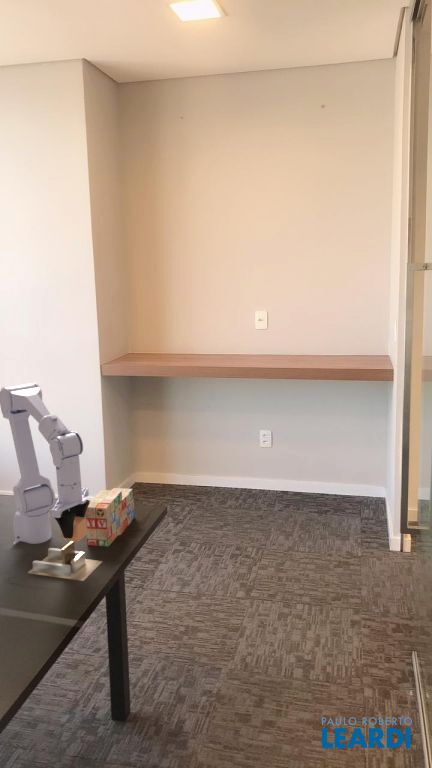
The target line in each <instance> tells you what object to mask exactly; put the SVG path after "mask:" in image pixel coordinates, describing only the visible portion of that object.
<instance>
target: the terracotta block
mask: <svg viewBox="0 0 432 768" xmlns="http://www.w3.org/2000/svg"><path fill="white" fill-rule="evenodd" d="M61 535H62V540H63V541H69V542H70V541H74V542H80V541H81V540H82V539H83V538H84V537H86V536H87V523H86V518H85V517H76V516H75V518H74V524H73V537H72V538H64V536H63V533H61Z"/></svg>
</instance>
